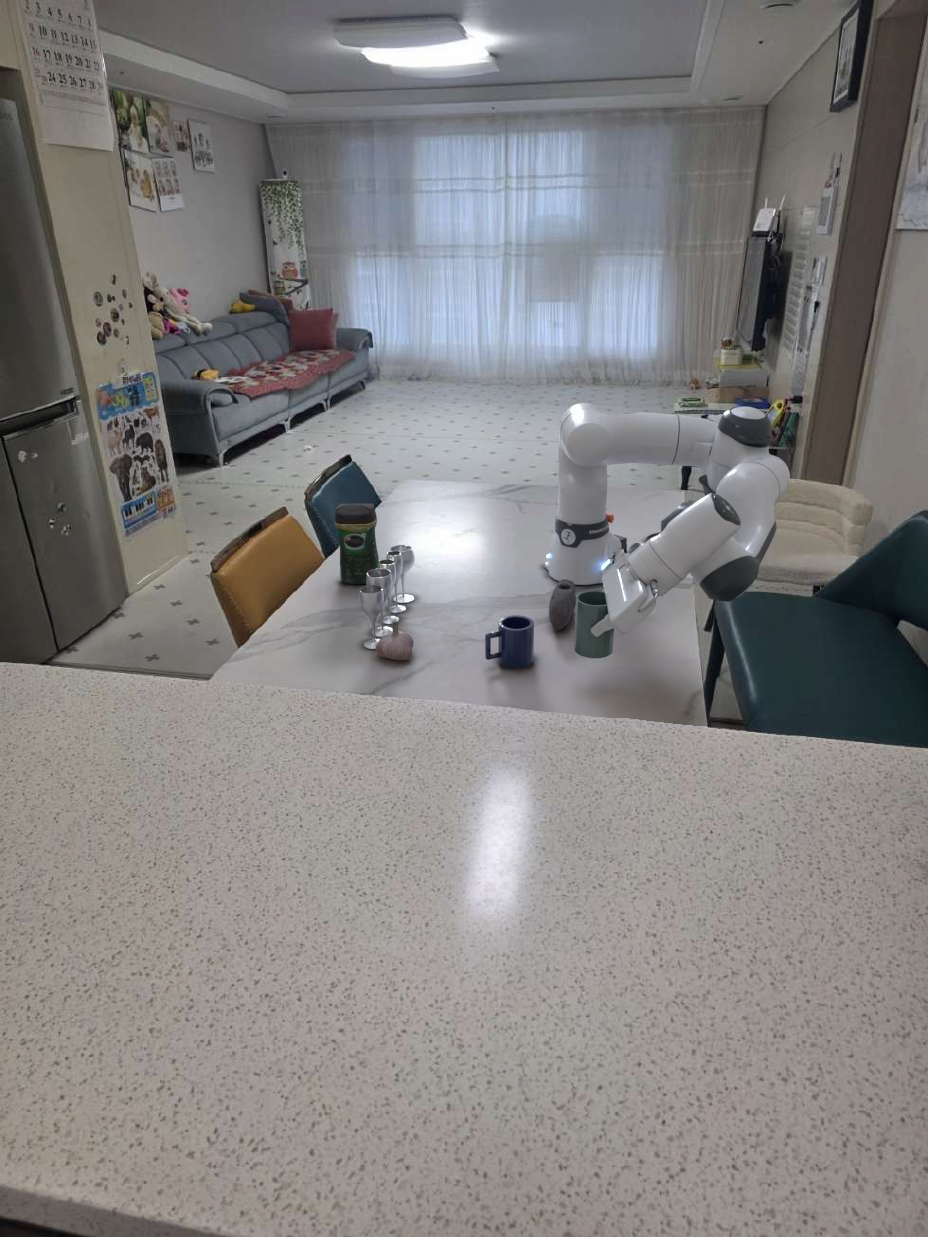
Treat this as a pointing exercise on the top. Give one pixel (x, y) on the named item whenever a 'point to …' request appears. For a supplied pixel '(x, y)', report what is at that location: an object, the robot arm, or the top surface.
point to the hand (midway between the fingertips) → (591, 622)
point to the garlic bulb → (395, 644)
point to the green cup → (586, 614)
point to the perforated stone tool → (562, 604)
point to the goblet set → (386, 590)
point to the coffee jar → (356, 541)
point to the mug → (512, 642)
